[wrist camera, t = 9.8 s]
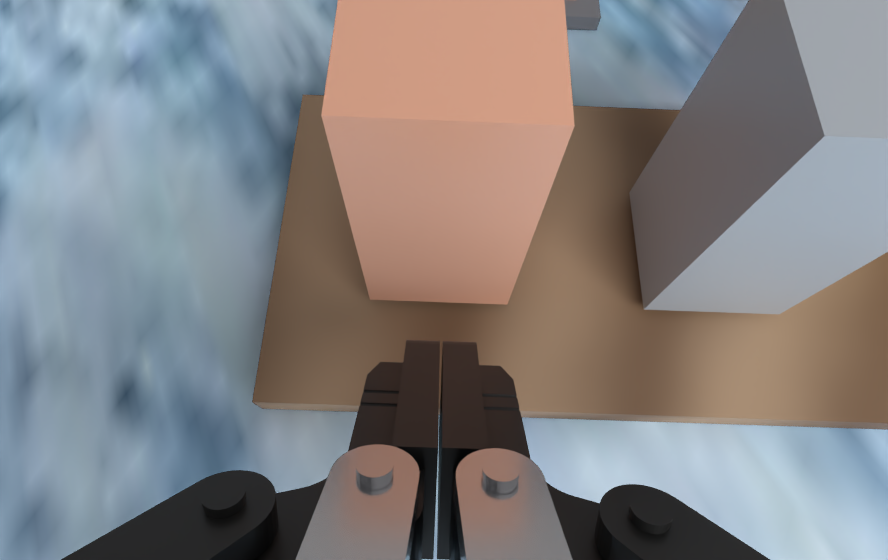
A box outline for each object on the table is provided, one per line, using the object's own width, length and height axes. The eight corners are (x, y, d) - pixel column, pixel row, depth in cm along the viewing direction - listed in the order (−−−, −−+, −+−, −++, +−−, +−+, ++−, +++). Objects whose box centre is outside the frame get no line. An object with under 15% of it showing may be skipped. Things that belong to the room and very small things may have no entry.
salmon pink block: (370, 299, 16) (321, 115, 9) (380, 182, 18) (346, -57, 10) (507, 304, 16) (574, 125, 9) (504, 187, 18) (560, -47, 10)
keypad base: (262, 408, 16) (252, 402, 15) (308, 113, 20) (302, 94, 19) (1042, 434, 16) (1079, 429, 15) (927, 139, 21) (950, 121, 20)
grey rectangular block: (643, 309, 16) (824, 135, 9) (629, 192, 18) (772, -38, 10) (779, 314, 16) (1070, 146, 9) (752, 197, 18) (982, -29, 10)
